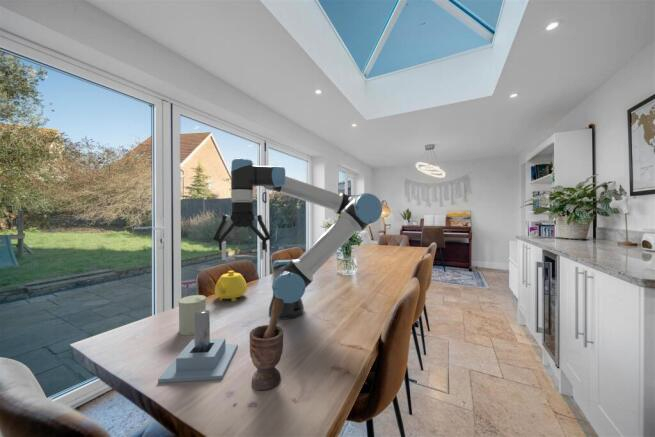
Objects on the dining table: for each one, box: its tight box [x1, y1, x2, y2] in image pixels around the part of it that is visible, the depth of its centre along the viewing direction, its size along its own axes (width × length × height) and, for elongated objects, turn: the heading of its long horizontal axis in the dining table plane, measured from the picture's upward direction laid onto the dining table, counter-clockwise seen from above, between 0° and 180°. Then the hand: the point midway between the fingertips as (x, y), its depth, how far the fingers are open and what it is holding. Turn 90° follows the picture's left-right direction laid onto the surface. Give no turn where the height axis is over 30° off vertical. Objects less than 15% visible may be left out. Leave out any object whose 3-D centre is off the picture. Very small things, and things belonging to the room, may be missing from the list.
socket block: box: [157, 337, 239, 384], centre depth 74 cm, size 16×16×4 cm
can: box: [178, 294, 207, 336], centre depth 94 cm, size 9×9×12 cm
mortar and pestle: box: [249, 298, 284, 391], centre depth 67 cm, size 12×9×20 cm
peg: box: [193, 309, 211, 353], centre depth 74 cm, size 4×4×14 cm
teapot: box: [214, 270, 248, 302], centre depth 127 cm, size 20×16×14 cm
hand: (243, 259), depth 93 cm, fingers open, 13 cm apart
